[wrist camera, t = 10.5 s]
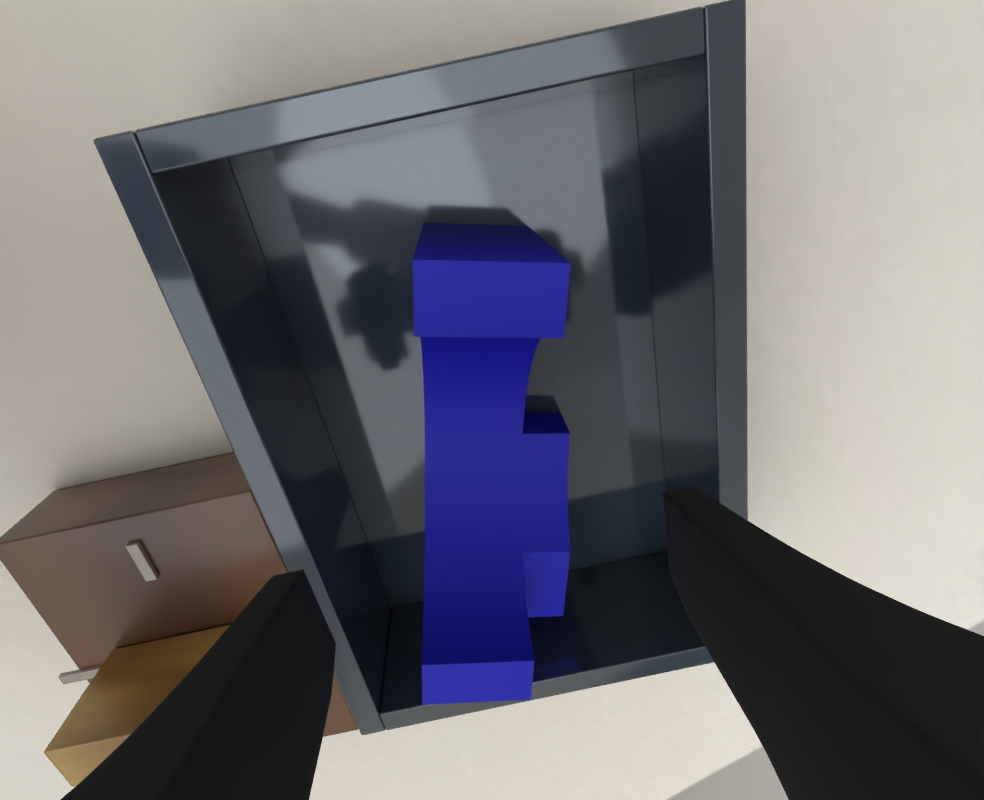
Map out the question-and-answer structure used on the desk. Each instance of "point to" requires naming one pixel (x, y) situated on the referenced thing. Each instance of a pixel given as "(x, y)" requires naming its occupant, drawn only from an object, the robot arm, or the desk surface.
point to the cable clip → (488, 457)
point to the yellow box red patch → (124, 699)
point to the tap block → (147, 561)
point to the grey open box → (397, 353)
